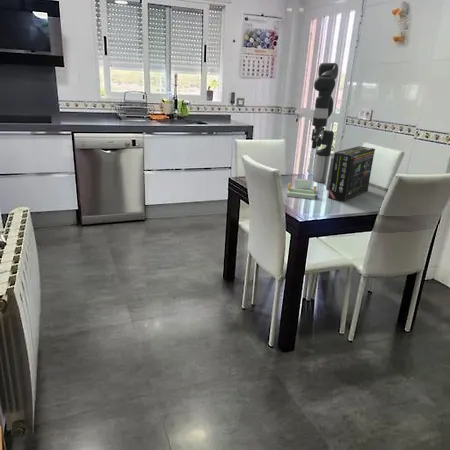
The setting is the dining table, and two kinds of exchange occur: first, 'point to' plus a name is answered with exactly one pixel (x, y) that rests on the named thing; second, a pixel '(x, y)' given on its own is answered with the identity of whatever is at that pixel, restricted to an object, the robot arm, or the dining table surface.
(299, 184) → the block
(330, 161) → the hard drive box
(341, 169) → the router box
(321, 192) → the dining table surface
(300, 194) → the tray
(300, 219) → the dining table surface
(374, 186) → the dining table surface
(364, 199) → the dining table surface
